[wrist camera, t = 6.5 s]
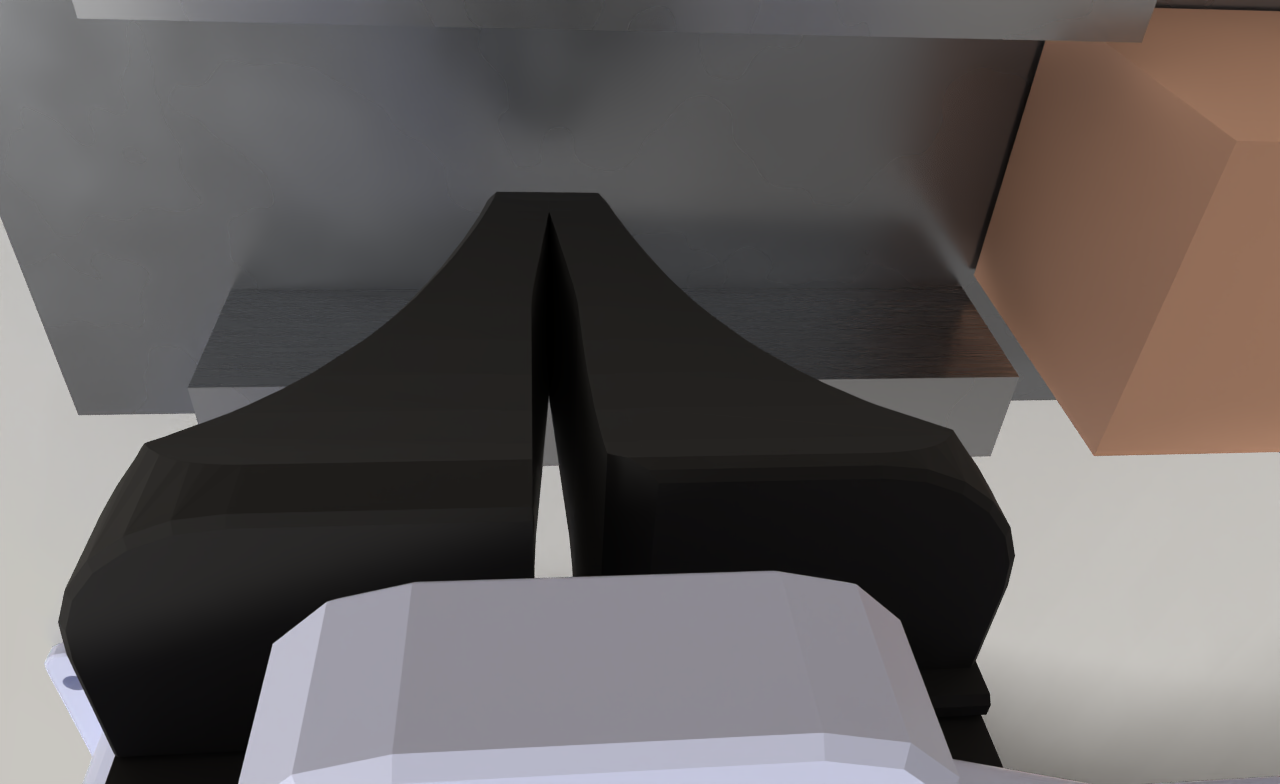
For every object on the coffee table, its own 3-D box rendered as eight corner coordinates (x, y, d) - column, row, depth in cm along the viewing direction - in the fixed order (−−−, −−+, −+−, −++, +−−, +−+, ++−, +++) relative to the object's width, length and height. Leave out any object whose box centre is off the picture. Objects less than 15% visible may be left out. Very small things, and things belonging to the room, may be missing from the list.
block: (1252, 274, 17) (1440, 448, 13) (974, 274, 16) (1094, 456, 13) (1384, 14, 14) (1665, 146, 11) (1056, 5, 14) (1236, 140, 10)
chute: (1249, 365, 20) (1364, 486, 17) (98, 379, 18) (18, 520, 15) (1564, -217, 14) (1825, -173, 11) (-152, -307, 11) (-370, -281, 9)
